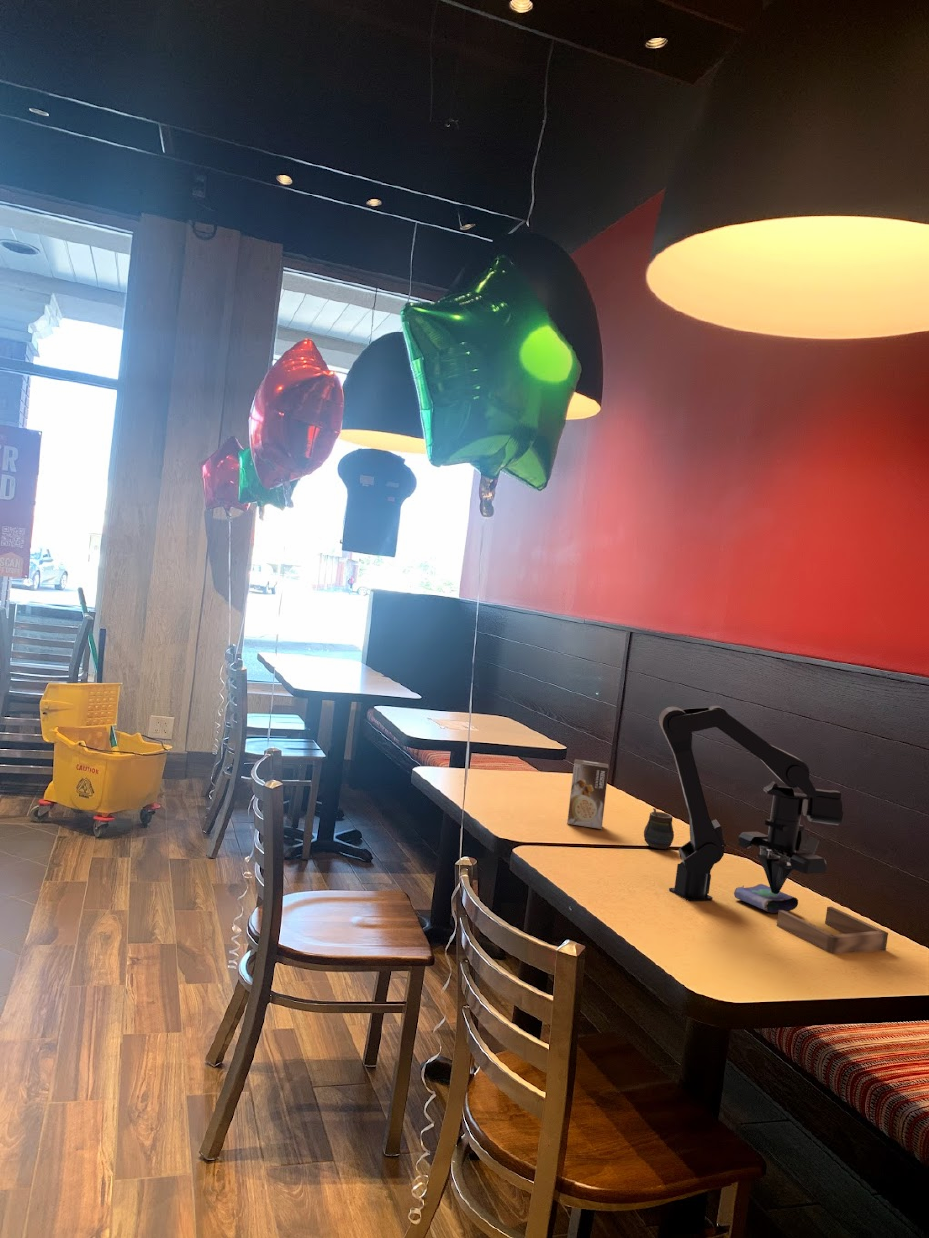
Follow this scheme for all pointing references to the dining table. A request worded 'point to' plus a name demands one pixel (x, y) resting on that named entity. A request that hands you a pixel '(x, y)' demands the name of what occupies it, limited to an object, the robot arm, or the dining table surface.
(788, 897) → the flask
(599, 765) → the coffee box
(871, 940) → the walnut u-shaped fence
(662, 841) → the mate gourd
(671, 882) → the dining table surface
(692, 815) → the robot arm
